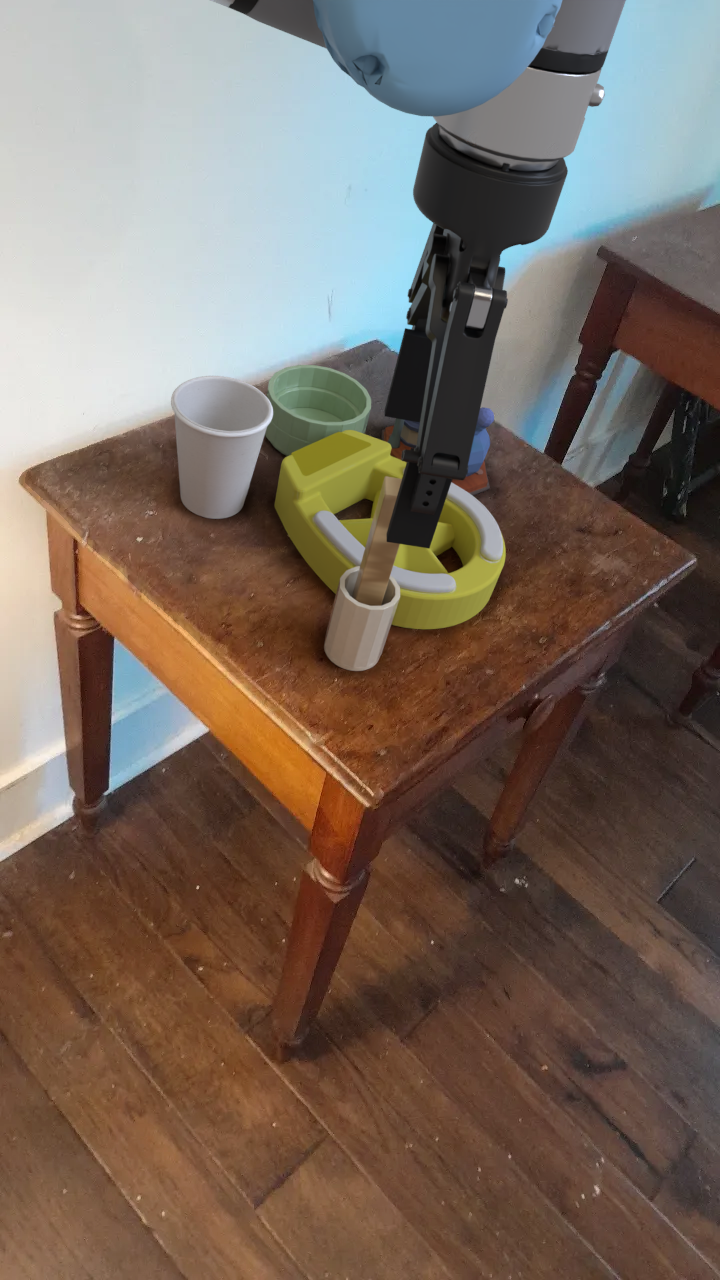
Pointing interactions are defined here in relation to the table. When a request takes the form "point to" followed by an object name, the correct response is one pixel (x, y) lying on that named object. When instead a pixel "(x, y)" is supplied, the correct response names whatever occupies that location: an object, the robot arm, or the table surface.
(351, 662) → the holder
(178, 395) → the dixie cup
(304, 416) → the bowl
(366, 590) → the stick
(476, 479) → the model
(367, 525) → the toy steering wheel
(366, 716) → the table surface
